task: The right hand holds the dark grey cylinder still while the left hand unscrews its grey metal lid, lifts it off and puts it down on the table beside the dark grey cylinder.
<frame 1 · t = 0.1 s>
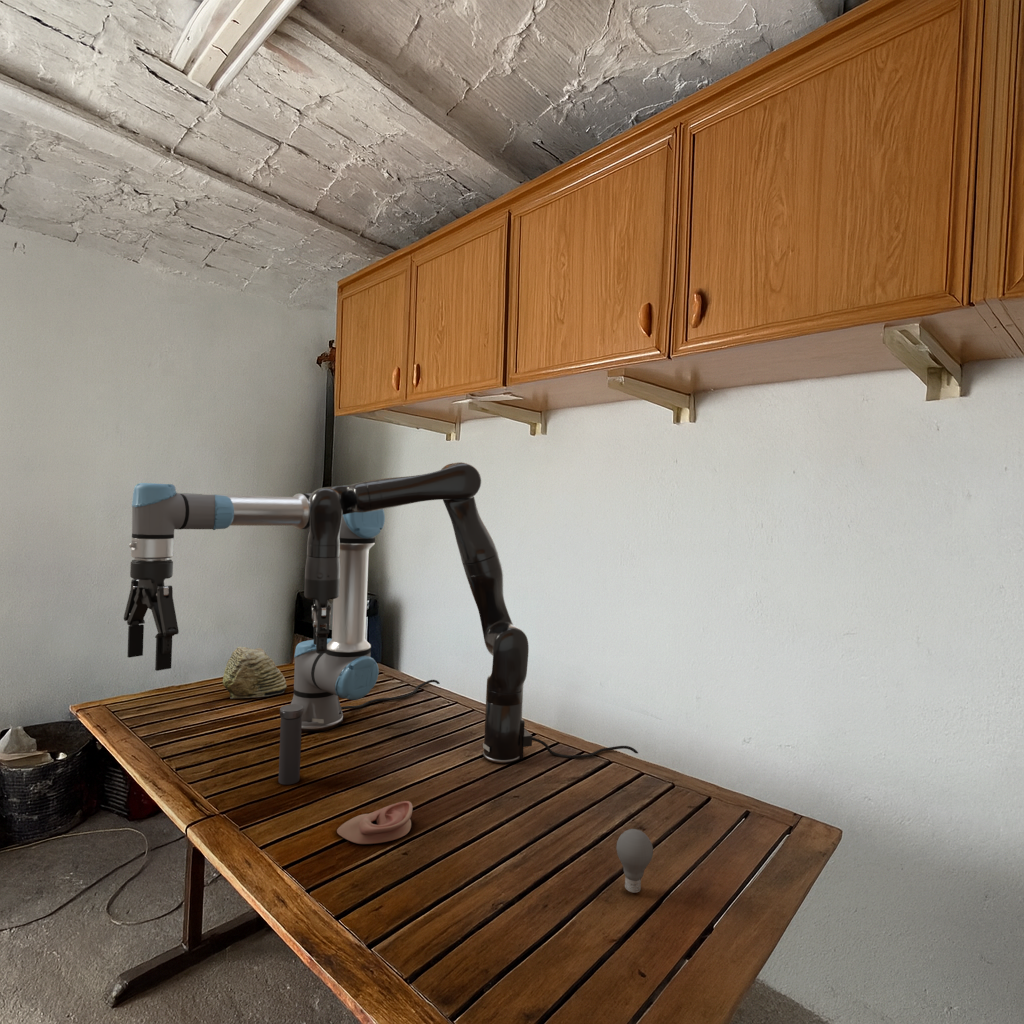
left hand: (148, 662, 129), 28 cm above the table, tool pointing down, fingers open, 13 cm apart
right hand: (319, 648, 142), 29 cm above the table, tool pointing down, fingers open, 8 cm apart
lid: (291, 709, 140), point 16 cm above the table, screwed on, not yet turned
fossil: (254, 694, 198), on the table
anatomical model: (375, 830, 121), on the table
light bulb: (632, 891, 106), on the table
dark grey cylinder: (289, 780, 141), on the table
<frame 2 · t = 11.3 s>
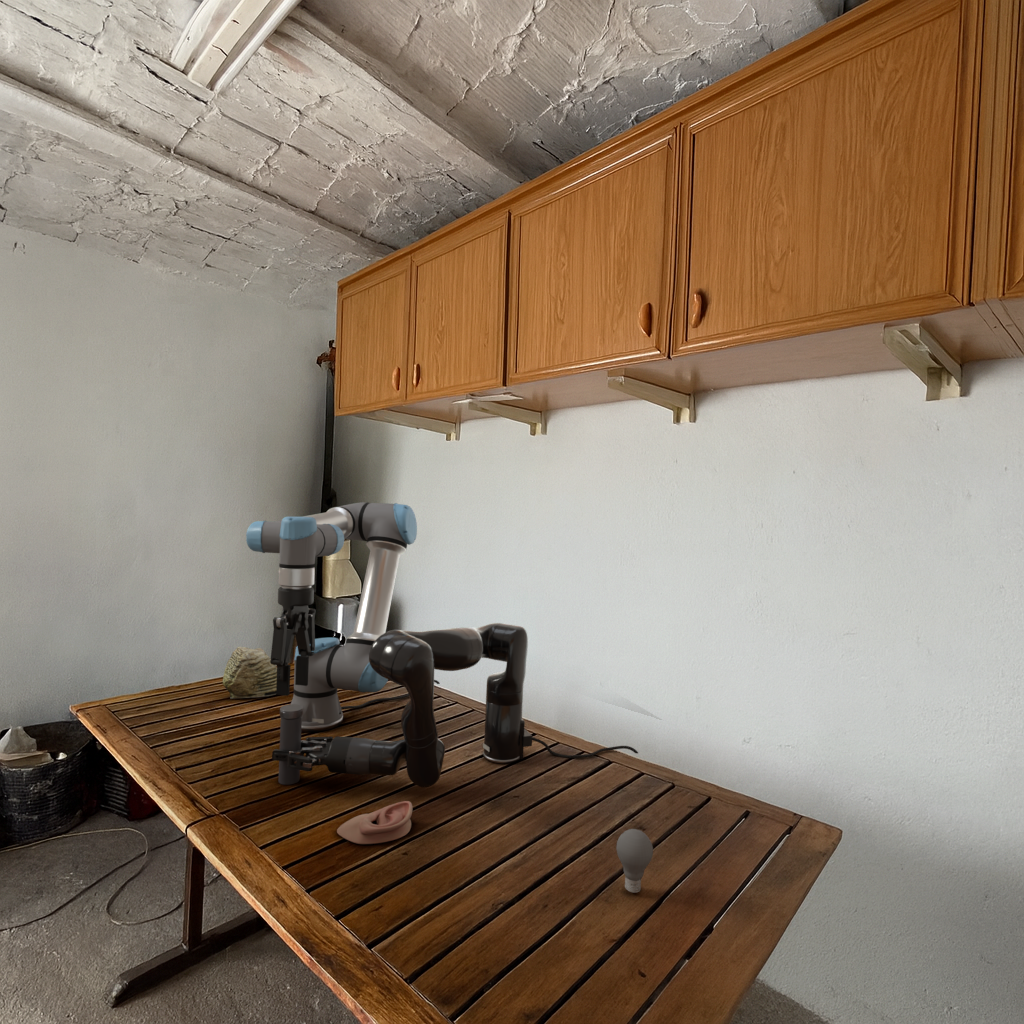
left hand: (292, 689, 140), 20 cm above the table, tool pointing down, fingers open, 7 cm apart
right hand: (278, 750, 141), 7 cm above the table, tool horizontal, fingers closed on dark grey cylinder, 4 cm apart
dark grey cylinder: (289, 780, 141), on the table, touching right hand
everything else where it was.
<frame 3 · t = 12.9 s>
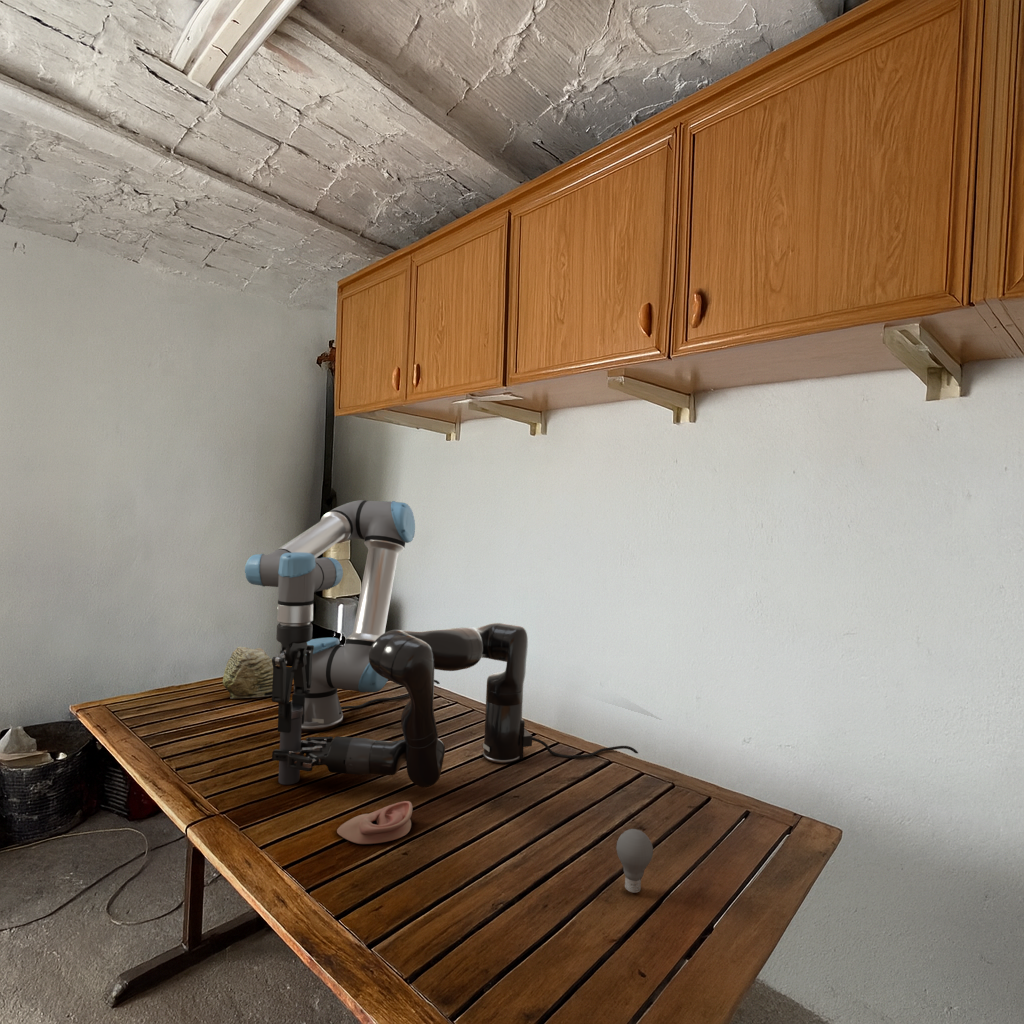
left hand: (291, 727, 140), 12 cm above the table, tool pointing down, fingers closed on lid, 5 cm apart
right hand: (278, 750, 141), 7 cm above the table, tool horizontal, fingers closed on dark grey cylinder, 4 cm apart
lid: (291, 709, 140), point 16 cm above the table, screwed on, not yet turned, touching left hand
dark grey cylinder: (289, 780, 141), on the table, touching right hand
everything else where it was.
when the left hand's fingers open (12 cm above the table, at t = 14.0 s): lid stays where it is, point 16 cm above the table.
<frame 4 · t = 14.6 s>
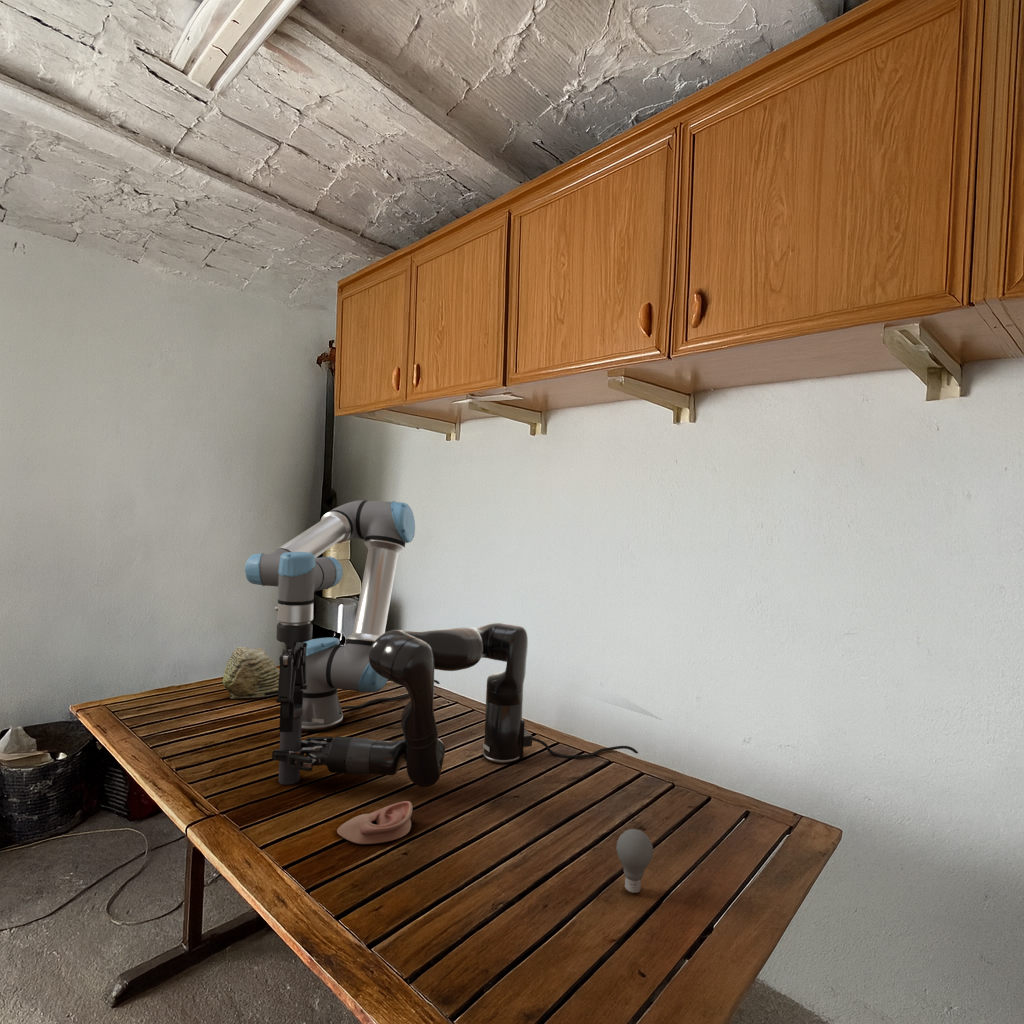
left hand: (291, 725, 140), 12 cm above the table, tool pointing down, fingers open, 7 cm apart
right hand: (278, 750, 141), 7 cm above the table, tool horizontal, fingers closed on dark grey cylinder, 4 cm apart
lid: (291, 708, 140), point 16 cm above the table, turned 59° so far, risen 0.1 cm, still on its thread
dark grey cylinder: (289, 780, 141), on the table, touching right hand
everything else where it was.
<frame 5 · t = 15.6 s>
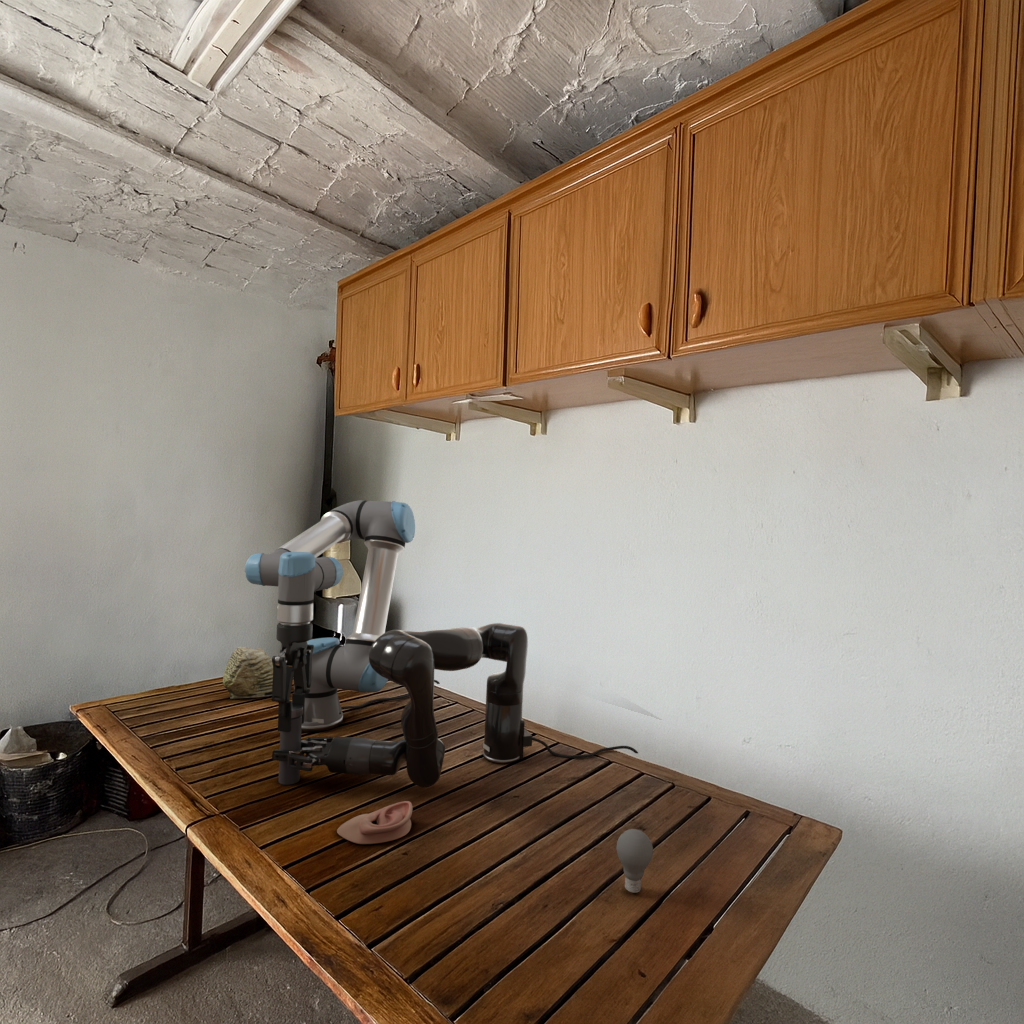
left hand: (291, 726, 140), 12 cm above the table, tool pointing down, fingers closed on lid, 5 cm apart
right hand: (278, 750, 141), 7 cm above the table, tool horizontal, fingers closed on dark grey cylinder, 4 cm apart
lid: (291, 708, 140), point 16 cm above the table, turned 59° so far, risen 0.1 cm, still on its thread, touching left hand
dark grey cylinder: (289, 780, 141), on the table, touching right hand
everything else where it was.
when the left hand's fingers open (0 cm above the table, at t = 22.8 s): lid drops 3 cm, point 1 cm above the table.
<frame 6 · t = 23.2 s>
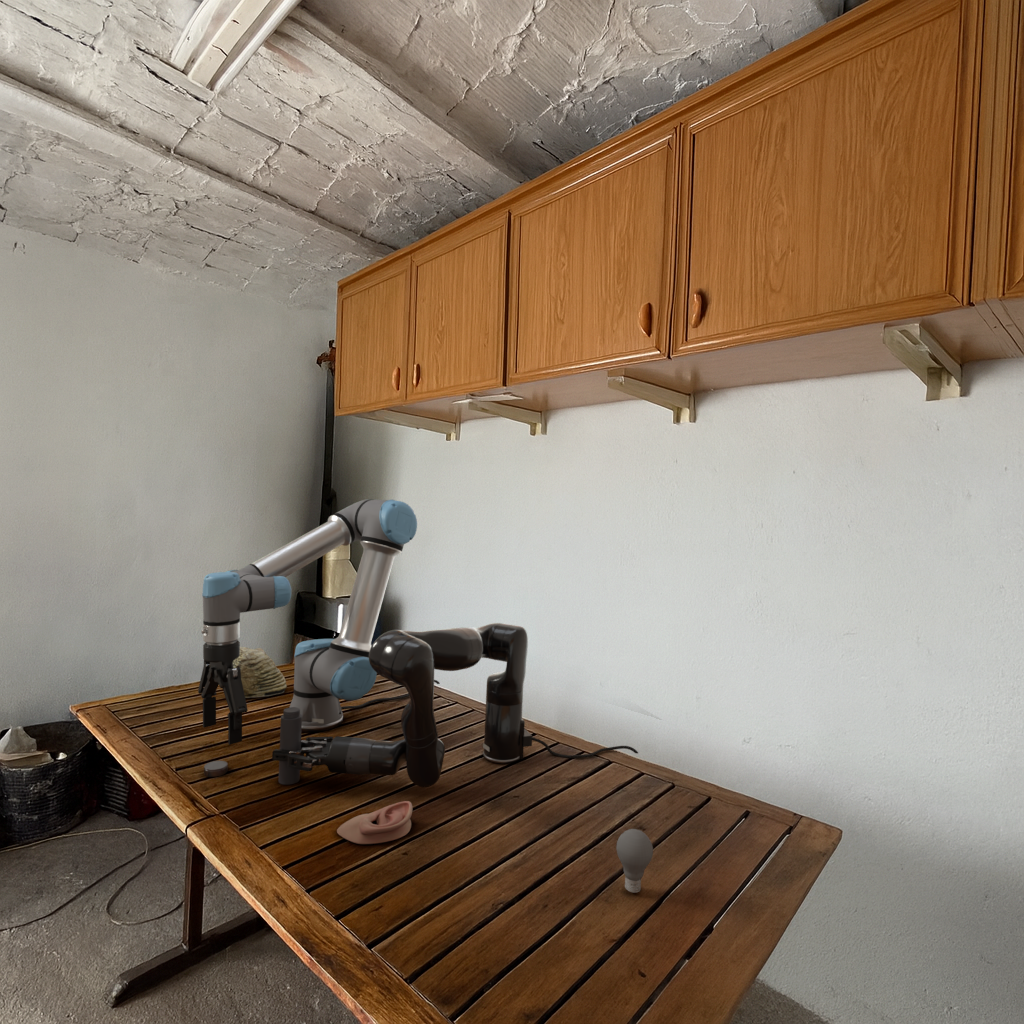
left hand: (221, 734, 144), 8 cm above the table, tool pointing down, fingers open, 13 cm apart
right hand: (278, 750, 141), 7 cm above the table, tool horizontal, fingers closed on dark grey cylinder, 4 cm apart
lid: (215, 766, 143), point 1 cm above the table, off its thread
dark grey cylinder: (289, 780, 141), on the table, touching right hand
everything else where it was.
when the right hand's fingers open (7 cm above the table, at t = 23.4 s): dark grey cylinder stays where it is, on the table.
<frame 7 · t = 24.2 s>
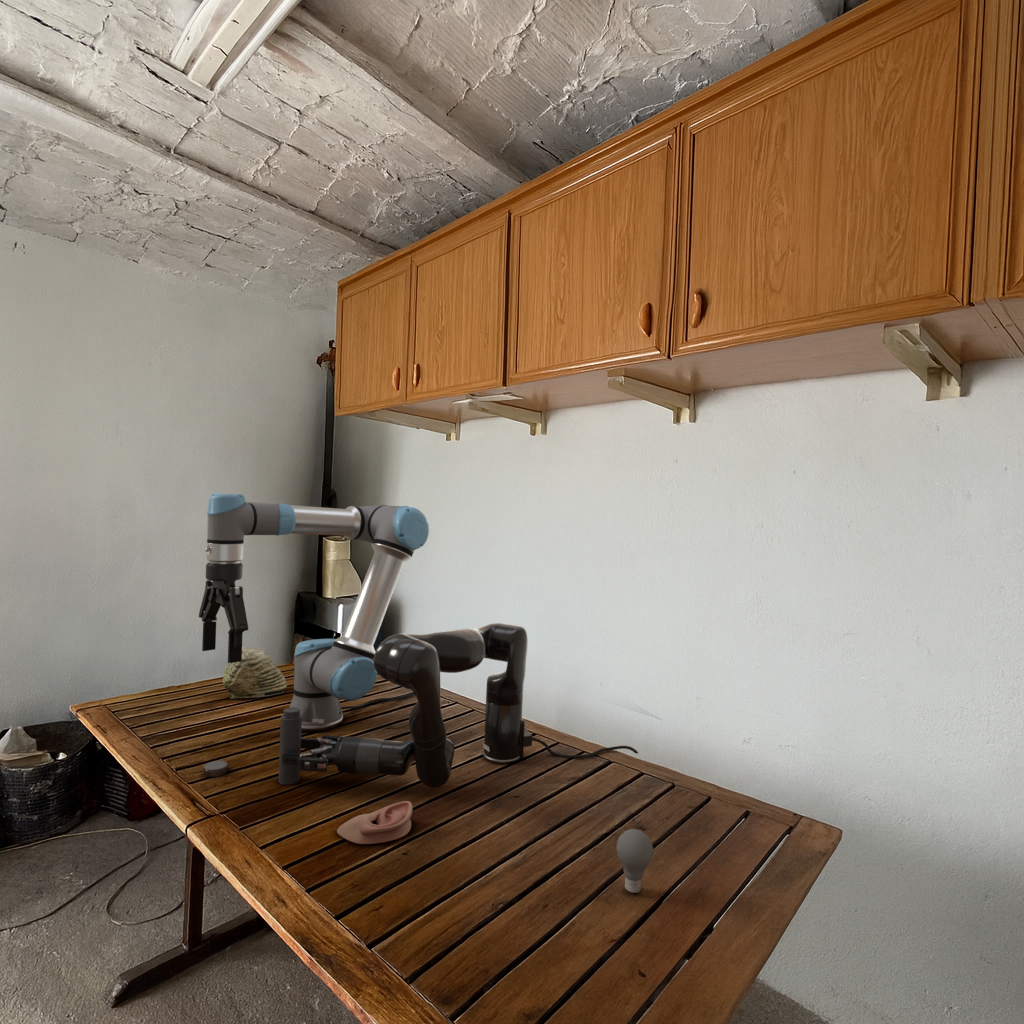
left hand: (221, 656, 143), 26 cm above the table, tool pointing down, fingers open, 13 cm apart
right hand: (291, 750, 141), 7 cm above the table, tool horizontal, fingers open, 8 cm apart
dark grey cylinder: (289, 780, 141), on the table
everything else where it was.
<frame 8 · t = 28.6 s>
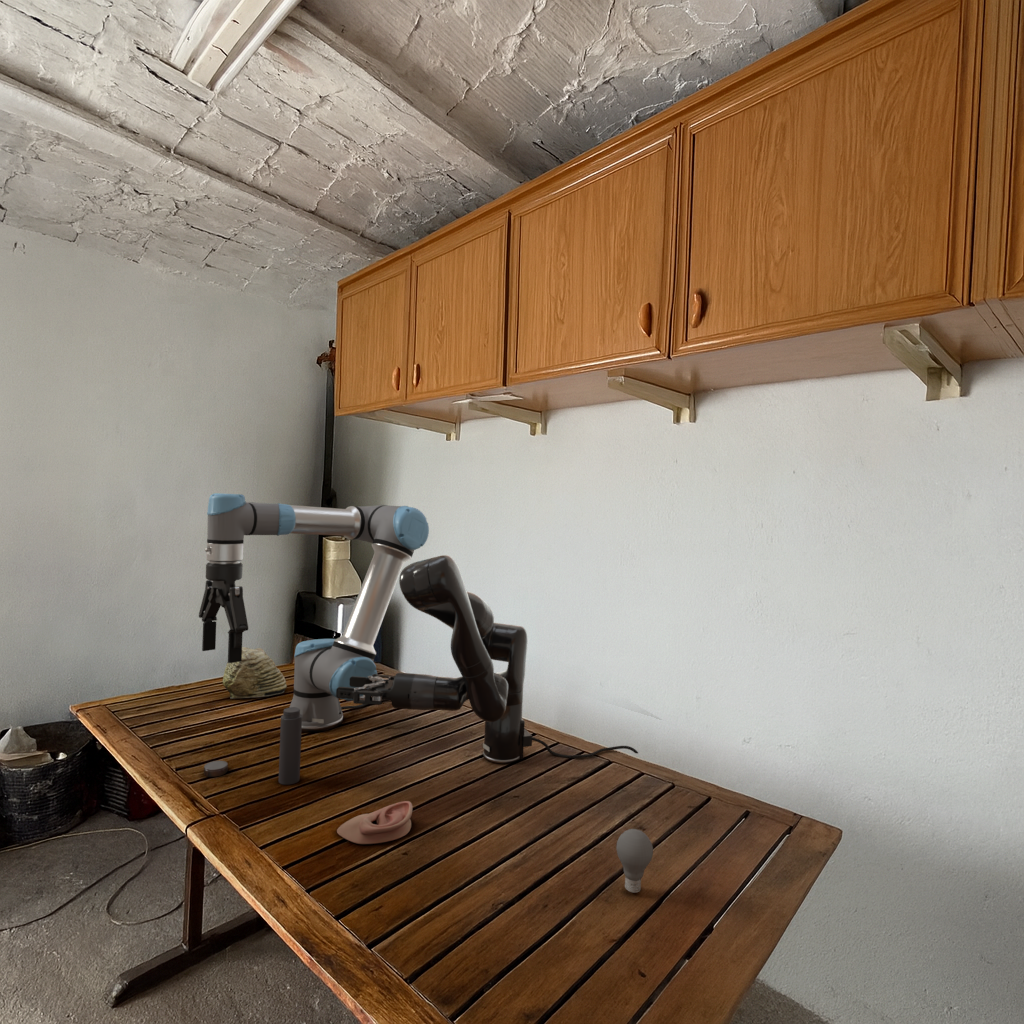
left hand: (221, 656, 143), 26 cm above the table, tool pointing down, fingers open, 13 cm apart
right hand: (343, 686, 139), 22 cm above the table, tool horizontal, fingers open, 8 cm apart
nothing on the table moved.
at the end: lid came off its thread; lid point 1.3 cm above the table; the left hand is holding nothing; the right hand is holding nothing; dark grey cylinder tilted 0°; dark grey cylinder moved 0.0 cm from its start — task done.
